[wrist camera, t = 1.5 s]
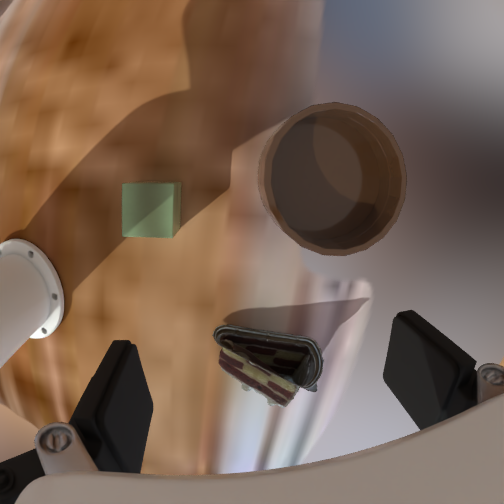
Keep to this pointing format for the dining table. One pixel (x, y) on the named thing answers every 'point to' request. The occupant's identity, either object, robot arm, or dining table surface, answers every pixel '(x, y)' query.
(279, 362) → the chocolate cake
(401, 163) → the bowl
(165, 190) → the green cube
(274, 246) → the dining table surface
